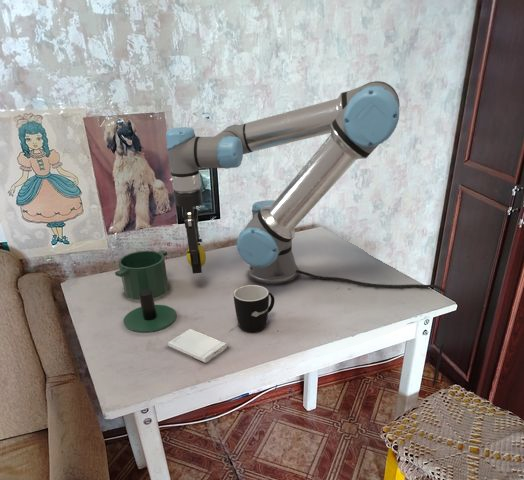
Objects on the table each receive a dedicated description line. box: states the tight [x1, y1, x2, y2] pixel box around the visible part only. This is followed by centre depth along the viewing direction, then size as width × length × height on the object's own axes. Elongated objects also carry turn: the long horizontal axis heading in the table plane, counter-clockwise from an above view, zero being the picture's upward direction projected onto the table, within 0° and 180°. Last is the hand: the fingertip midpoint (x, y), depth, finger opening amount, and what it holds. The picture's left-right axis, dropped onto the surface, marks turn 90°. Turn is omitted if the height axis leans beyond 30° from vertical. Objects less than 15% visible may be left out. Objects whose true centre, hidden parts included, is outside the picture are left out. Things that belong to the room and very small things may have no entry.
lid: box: [123, 290, 177, 334], centre depth 134 cm, size 14×14×9 cm
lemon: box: [186, 244, 207, 268], centre depth 146 cm, size 6×6×8 cm
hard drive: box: [167, 328, 228, 364], centre depth 124 cm, size 2×8×12 cm
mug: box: [233, 284, 276, 334], centre depth 130 cm, size 12×9×10 cm
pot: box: [114, 250, 170, 301], centre depth 148 cm, size 13×18×10 cm
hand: (197, 268), depth 148 cm, fingers closed on lemon, 5 cm apart
